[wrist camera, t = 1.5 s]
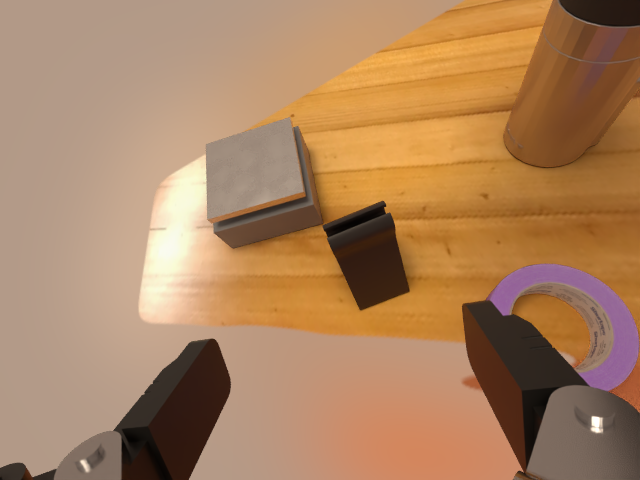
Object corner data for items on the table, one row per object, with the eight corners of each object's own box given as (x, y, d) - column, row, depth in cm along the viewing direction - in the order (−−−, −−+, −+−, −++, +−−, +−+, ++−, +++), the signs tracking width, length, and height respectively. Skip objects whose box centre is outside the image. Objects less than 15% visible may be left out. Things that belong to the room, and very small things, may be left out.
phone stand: (334, 244, 42) (310, 194, 31) (379, 227, 42) (369, 170, 31) (359, 310, 38) (341, 278, 27) (409, 292, 37) (410, 251, 27)
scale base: (307, 145, 50) (297, 121, 46) (323, 223, 44) (313, 204, 39) (228, 170, 52) (211, 149, 47) (232, 248, 45) (213, 232, 41)
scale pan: (292, 122, 44) (290, 117, 43) (306, 196, 38) (303, 191, 37) (209, 149, 45) (205, 144, 45) (211, 223, 40) (207, 219, 39)
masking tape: (646, 345, 31) (676, 339, 27) (549, 424, 30) (567, 427, 26) (538, 254, 36) (552, 240, 33) (454, 319, 35) (459, 311, 32)
